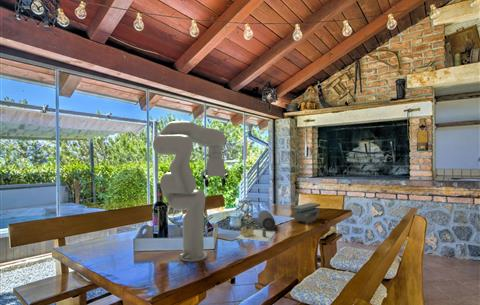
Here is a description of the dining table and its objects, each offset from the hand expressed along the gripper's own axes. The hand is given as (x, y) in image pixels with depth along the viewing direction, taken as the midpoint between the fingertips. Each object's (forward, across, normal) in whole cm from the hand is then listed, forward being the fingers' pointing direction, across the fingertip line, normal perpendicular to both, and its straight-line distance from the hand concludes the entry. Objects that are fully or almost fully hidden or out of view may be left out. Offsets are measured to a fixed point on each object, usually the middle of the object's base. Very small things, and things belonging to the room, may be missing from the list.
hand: (215, 186), depth 162 cm
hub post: (+28, +18, -3) cm, 34 cm away
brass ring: (+28, +18, -3) cm, 34 cm away
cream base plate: (+30, +23, -5) cm, 38 cm away
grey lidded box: (+29, +74, +16) cm, 81 cm away
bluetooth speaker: (+30, +38, +10) cm, 50 cm away
